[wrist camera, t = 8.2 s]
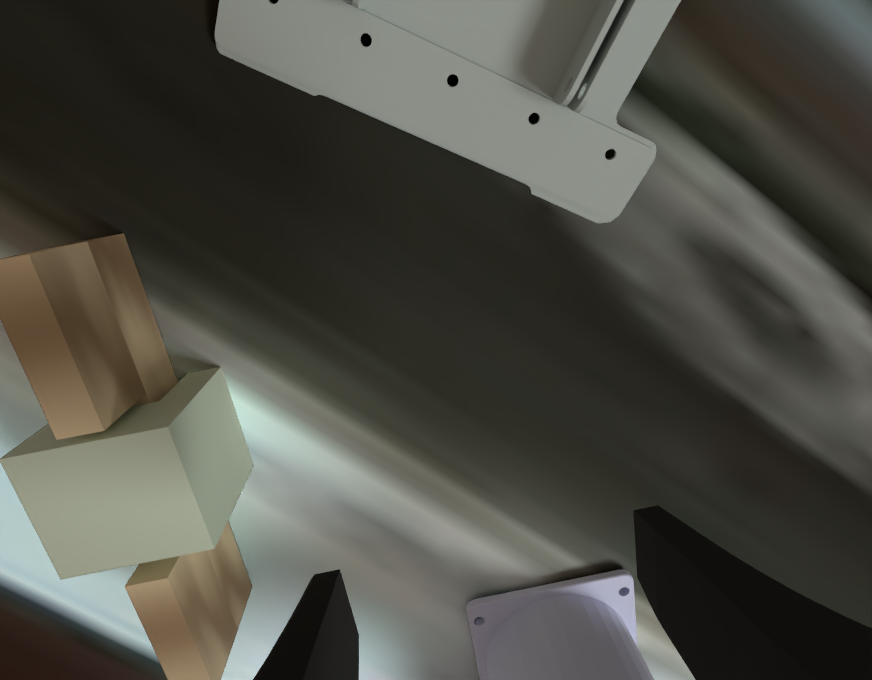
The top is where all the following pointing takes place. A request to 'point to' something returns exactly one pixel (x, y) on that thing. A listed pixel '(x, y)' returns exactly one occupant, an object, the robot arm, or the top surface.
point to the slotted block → (136, 480)
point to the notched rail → (102, 405)
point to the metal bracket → (476, 79)
